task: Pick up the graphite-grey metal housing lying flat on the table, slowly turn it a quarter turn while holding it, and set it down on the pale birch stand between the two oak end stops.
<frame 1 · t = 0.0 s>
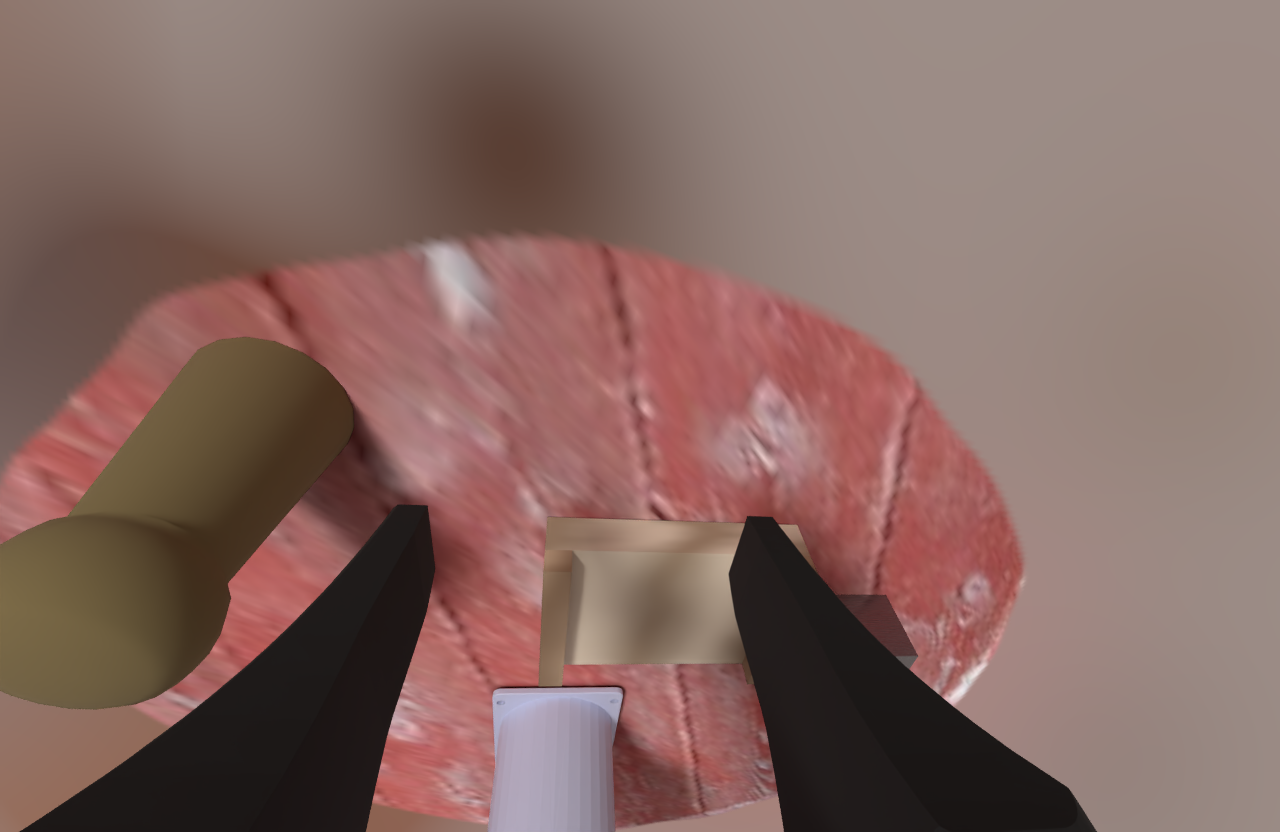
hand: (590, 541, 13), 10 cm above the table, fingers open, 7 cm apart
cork: (273, 403, 22), on the table
housing: (825, 633, 34), on the table
stand: (662, 581, 30), on the table
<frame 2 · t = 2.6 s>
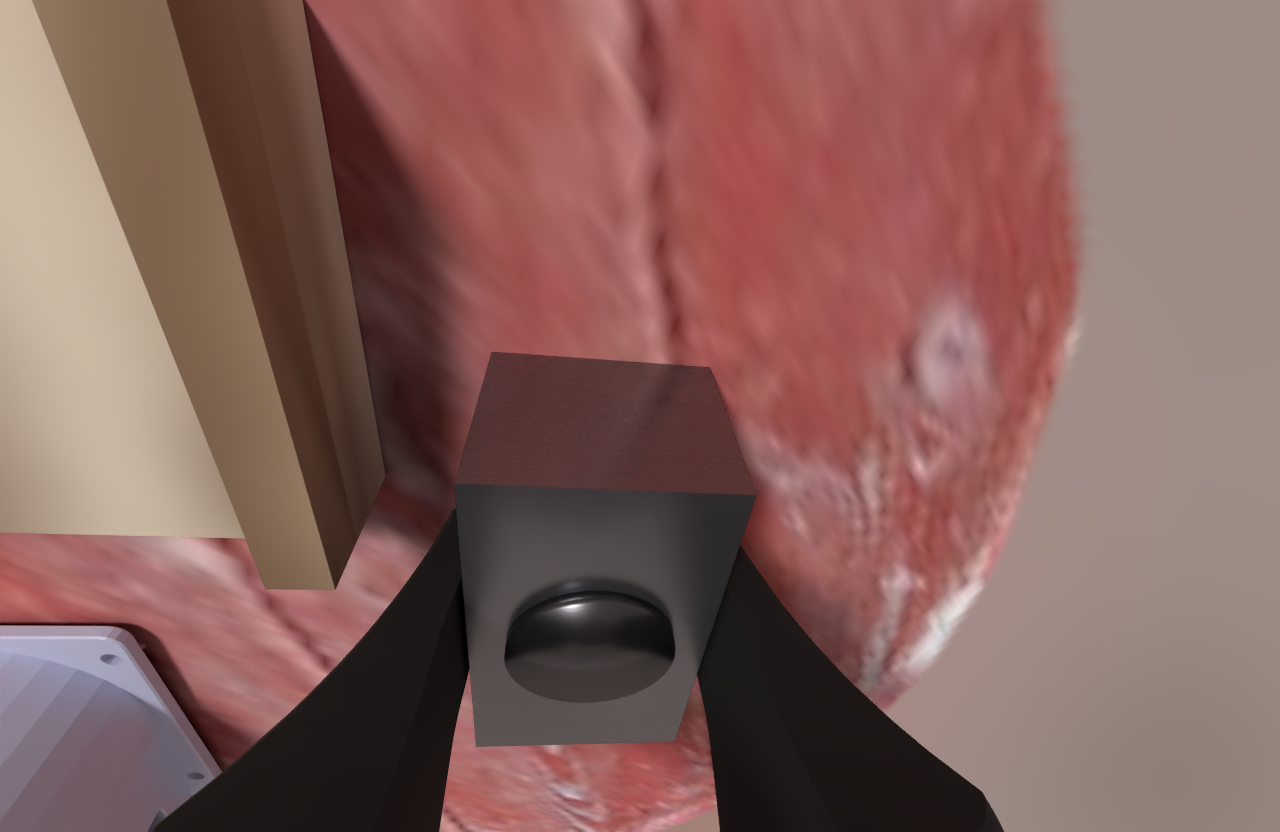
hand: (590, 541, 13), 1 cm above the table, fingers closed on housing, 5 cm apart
housing: (589, 498, 14), on the table, touching gripper
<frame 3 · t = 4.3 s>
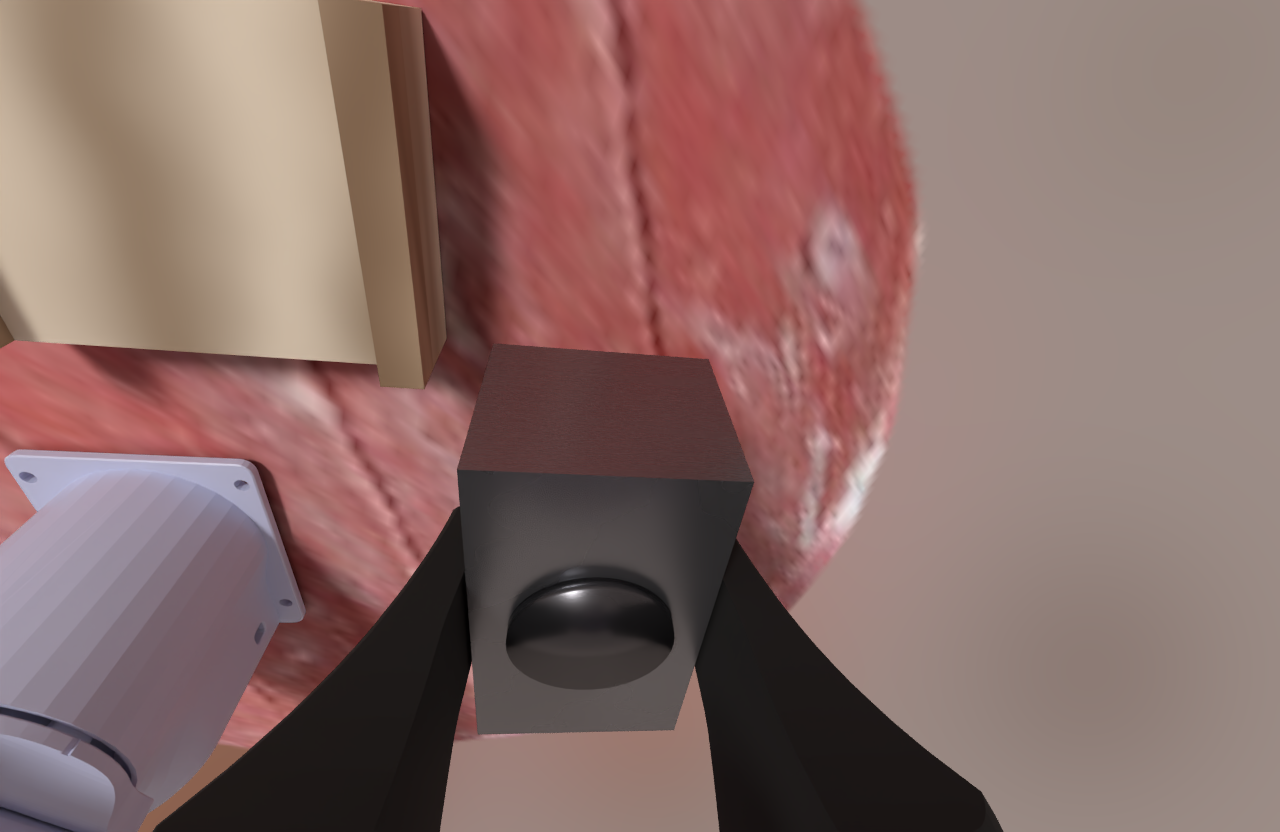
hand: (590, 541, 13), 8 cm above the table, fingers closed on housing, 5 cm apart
housing: (589, 490, 14), point 7 cm above the table, touching gripper
stand: (201, 173, 15), on the table
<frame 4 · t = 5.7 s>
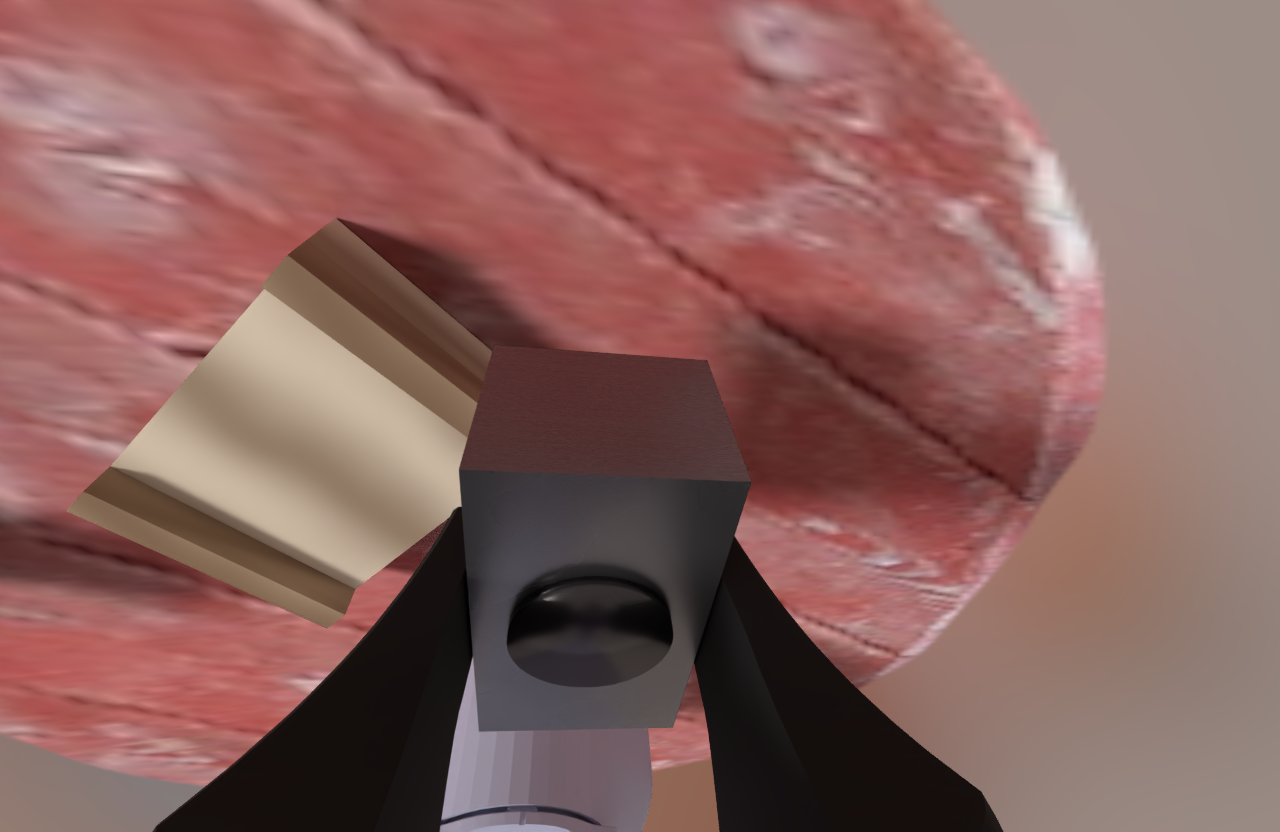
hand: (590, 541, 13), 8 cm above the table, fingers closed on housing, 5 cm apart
housing: (589, 490, 14), point 7 cm above the table, touching gripper
stand: (346, 426, 20), on the table
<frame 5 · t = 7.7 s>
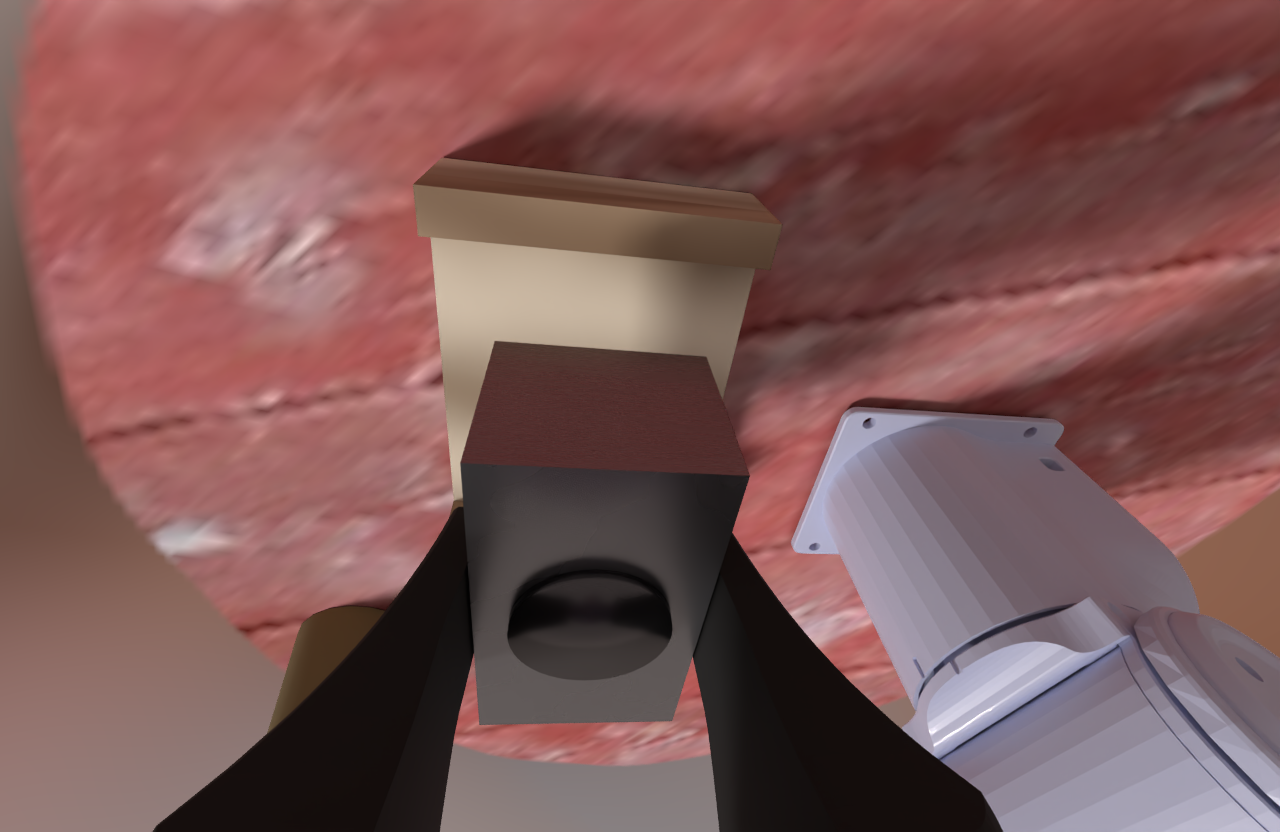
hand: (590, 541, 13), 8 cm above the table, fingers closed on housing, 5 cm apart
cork: (364, 639, 28), on the table
housing: (589, 485, 14), point 6 cm above the table, touching gripper
stand: (587, 362, 20), on the table
when the fingers open (5 cm above the table, at t = 9.2 s): housing drops 1 cm, resting on stand.
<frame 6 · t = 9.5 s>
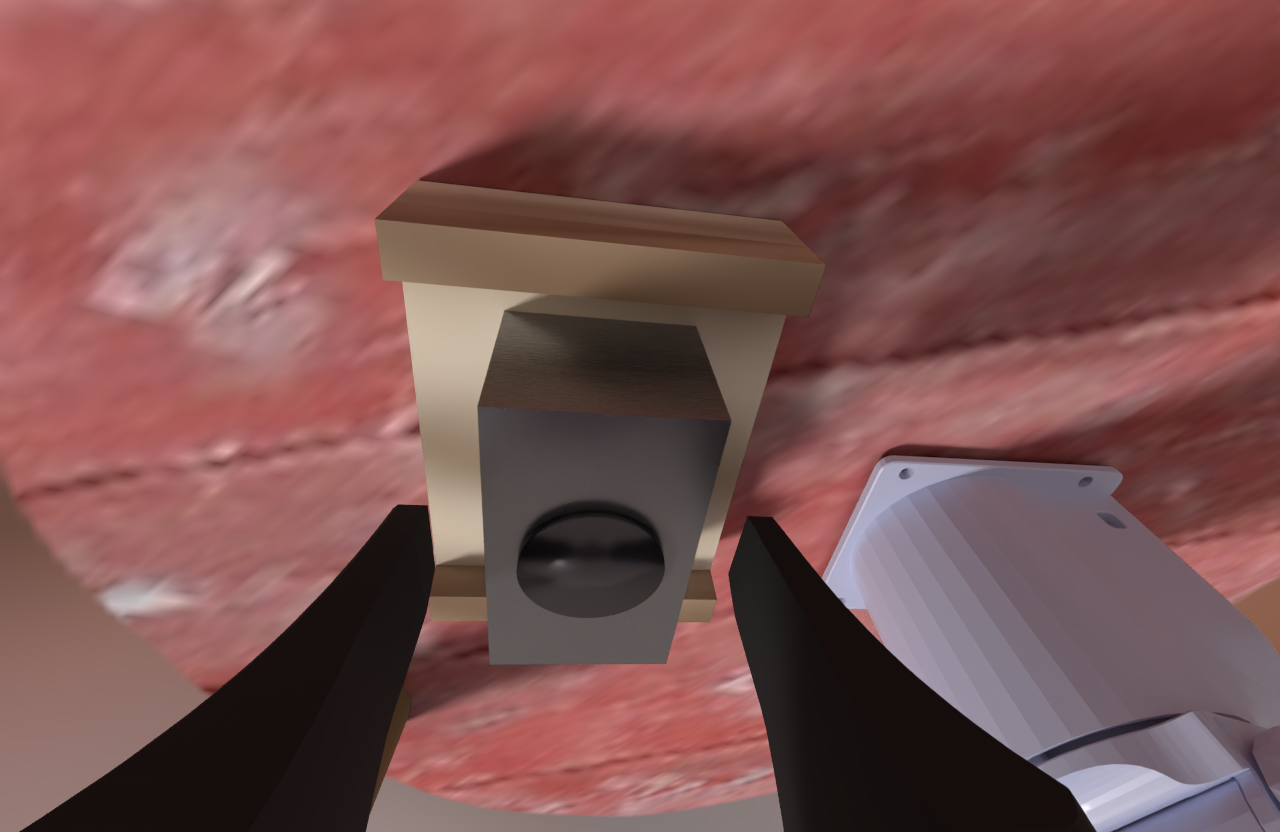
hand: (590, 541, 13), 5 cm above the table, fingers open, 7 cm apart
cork: (343, 697, 25), on the table
housing: (590, 449, 16), point 2 cm above the table, touching stand
stand: (588, 409, 17), on the table
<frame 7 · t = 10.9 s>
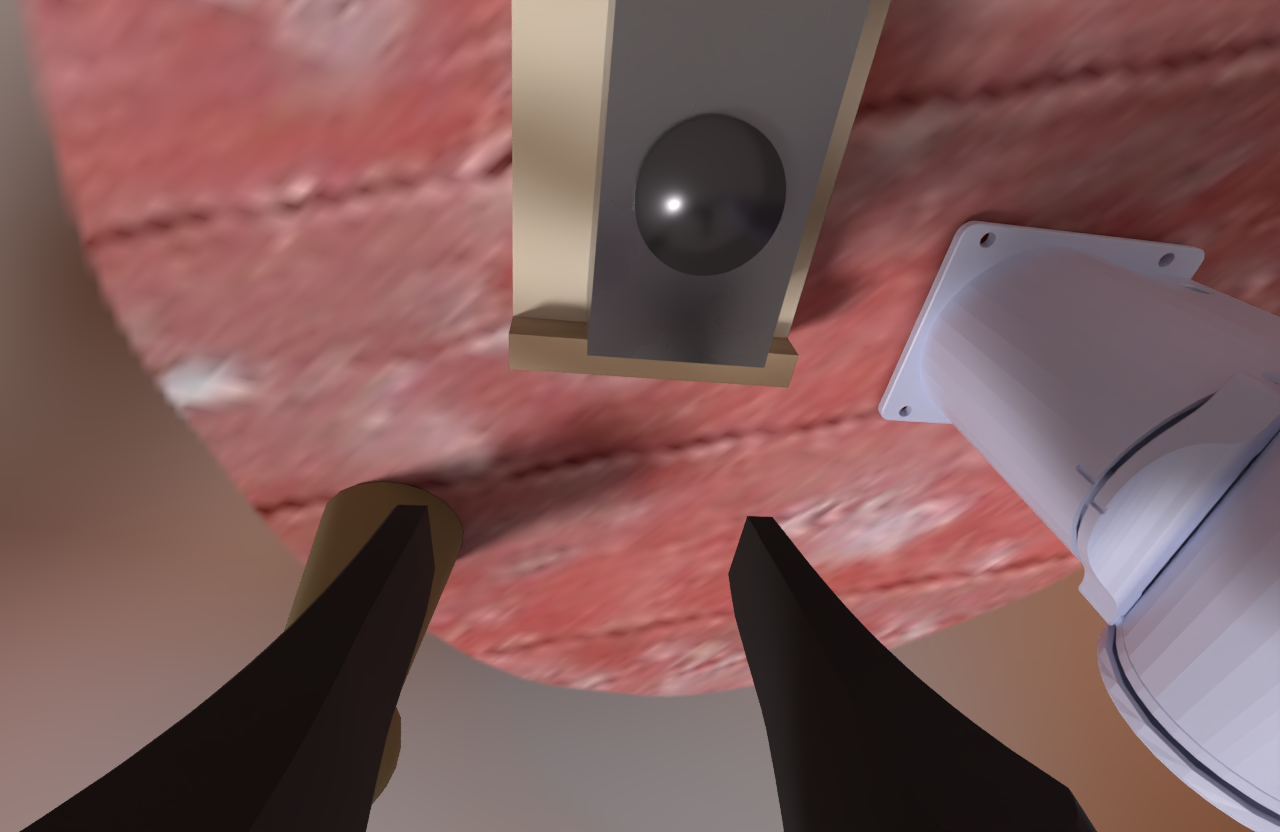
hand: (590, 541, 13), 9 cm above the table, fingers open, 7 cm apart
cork: (395, 528, 25), on the table
housing: (681, 161, 15), point 2 cm above the table, touching stand
stand: (671, 148, 17), on the table
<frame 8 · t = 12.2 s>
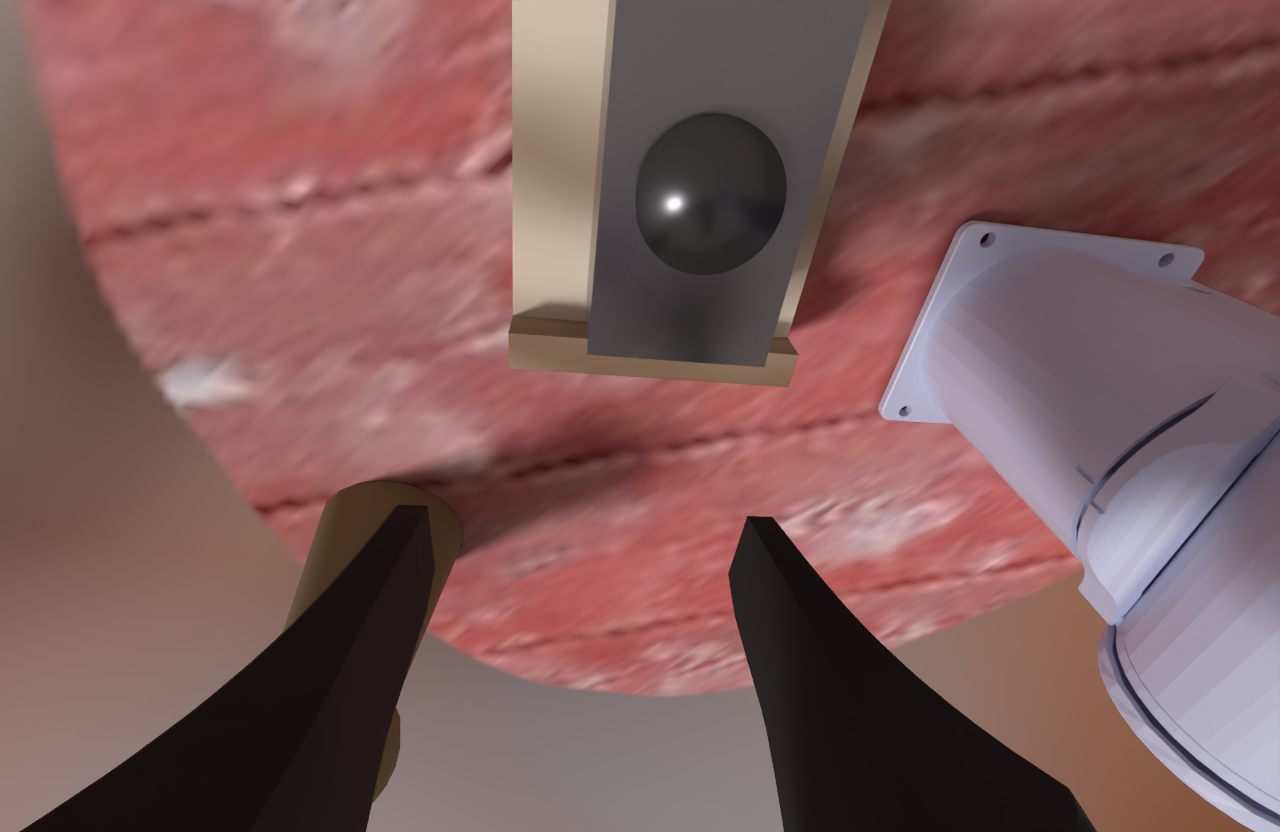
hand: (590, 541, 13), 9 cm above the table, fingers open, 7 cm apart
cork: (394, 528, 25), on the table
housing: (681, 160, 15), point 2 cm above the table, touching stand
stand: (671, 147, 17), on the table
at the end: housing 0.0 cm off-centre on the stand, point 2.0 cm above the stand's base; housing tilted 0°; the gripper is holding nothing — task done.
